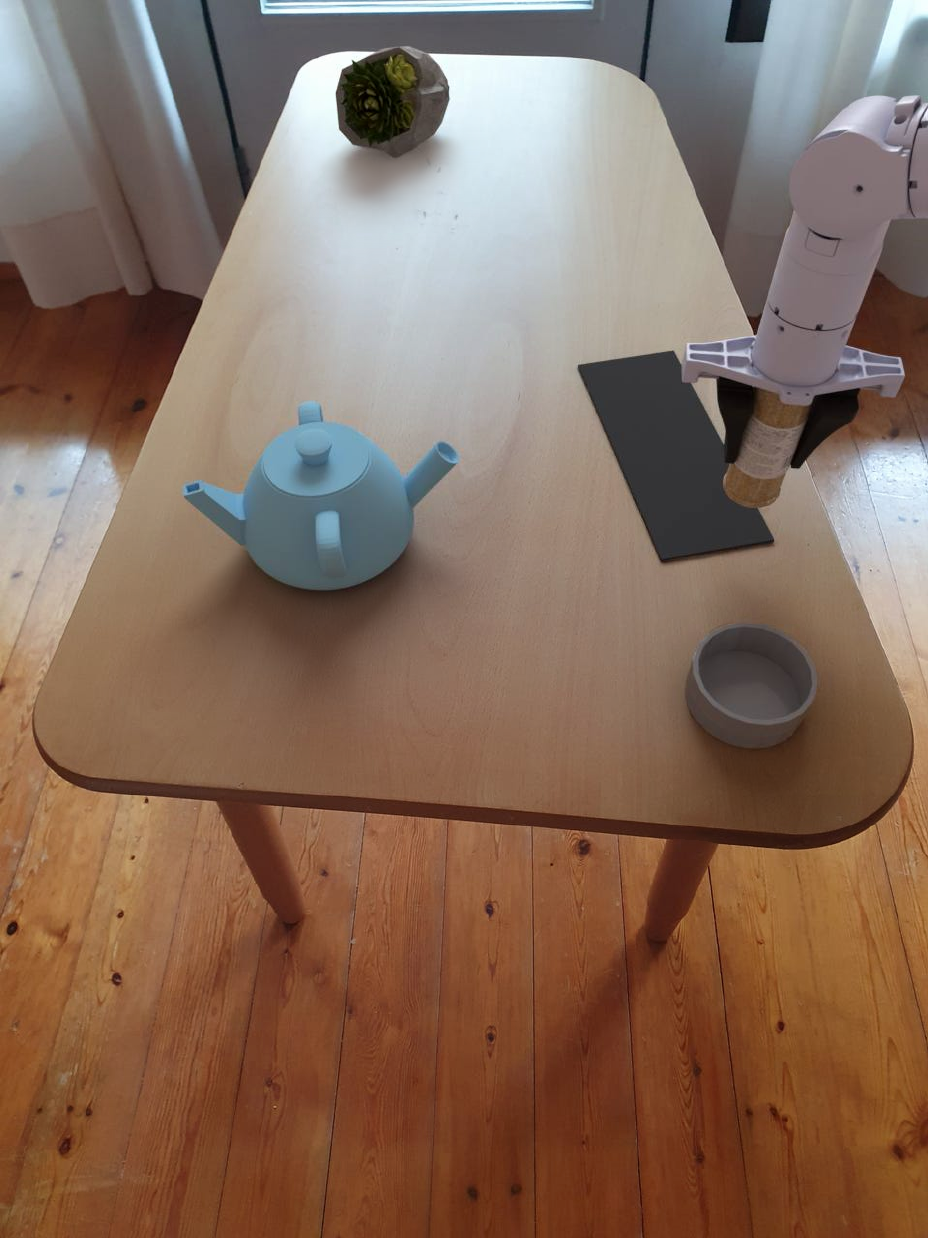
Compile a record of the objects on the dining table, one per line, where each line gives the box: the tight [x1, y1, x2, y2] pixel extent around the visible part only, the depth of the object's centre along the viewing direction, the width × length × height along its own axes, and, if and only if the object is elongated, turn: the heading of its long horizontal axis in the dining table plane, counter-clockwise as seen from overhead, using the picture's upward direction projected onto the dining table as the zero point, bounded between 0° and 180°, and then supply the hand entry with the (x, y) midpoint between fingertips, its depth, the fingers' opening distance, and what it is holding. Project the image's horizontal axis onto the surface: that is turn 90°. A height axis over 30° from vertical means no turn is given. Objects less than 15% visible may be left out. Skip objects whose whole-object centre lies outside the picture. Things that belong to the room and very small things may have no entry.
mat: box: [577, 350, 775, 562], centre depth 87 cm, size 26×10×1 cm, turn 11°
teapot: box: [181, 400, 460, 591], centre depth 77 cm, size 15×17×11 cm
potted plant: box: [335, 45, 451, 159], centre depth 116 cm, size 12×13×15 cm
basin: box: [684, 622, 819, 750], centre depth 70 cm, size 9×9×4 cm
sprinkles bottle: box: [723, 386, 815, 509], centre depth 69 cm, size 5×5×14 cm
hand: (760, 456), depth 72 cm, fingers closed on sprinkles bottle, 4 cm apart
